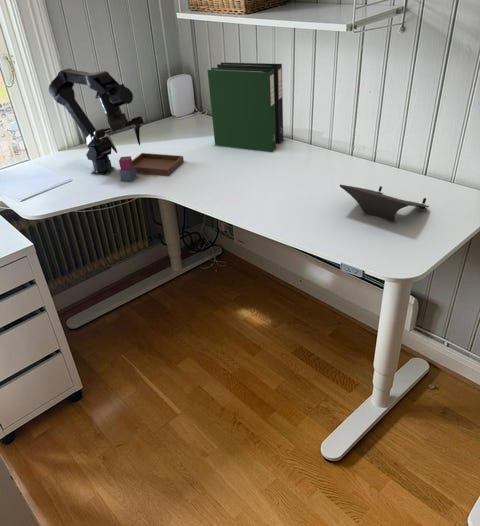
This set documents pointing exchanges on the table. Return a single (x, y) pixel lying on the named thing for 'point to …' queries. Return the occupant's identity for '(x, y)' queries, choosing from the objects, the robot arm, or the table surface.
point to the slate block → (128, 174)
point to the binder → (247, 105)
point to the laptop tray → (379, 202)
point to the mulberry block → (126, 163)
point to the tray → (157, 163)
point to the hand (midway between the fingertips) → (128, 148)
